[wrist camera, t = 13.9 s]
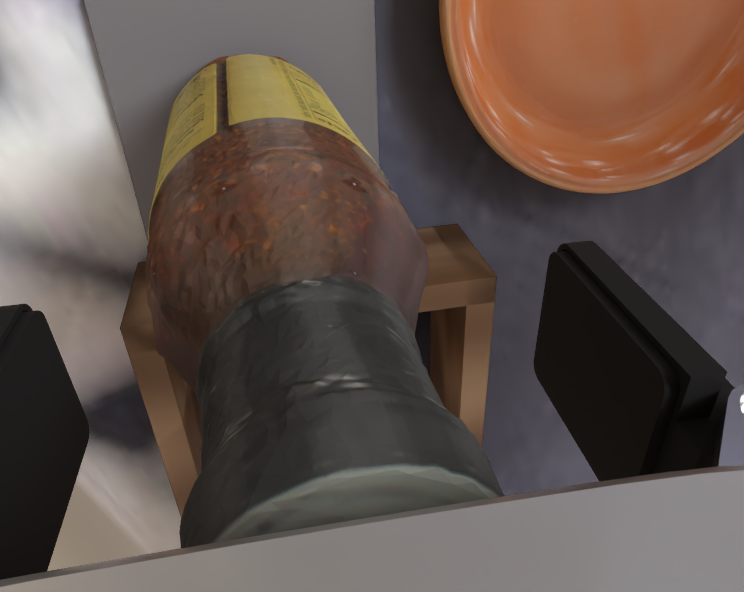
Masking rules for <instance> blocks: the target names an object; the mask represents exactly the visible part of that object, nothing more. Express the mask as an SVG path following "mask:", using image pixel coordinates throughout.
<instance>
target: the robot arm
mask: <svg viewBox="0 0 744 592" xmlns="http://www.w3.org/2000/svg"><path fill="white" fill-rule="evenodd" d="M534 369H535V373H536V376H537V378H538V380H539V382H540V384H541V385H542V387H543V388H544V390H545V392H546V393H547V395H548V397H549V398H550V400H551V402H552V403H553V405H554V407H555V408H556V410H557V412H558V413H559V415H560V417H561V418H562V420H563V422H564V423H565V425H566V427H567V428H568V430H569V432H570V433H571V435H572V437H573V438H574V440H575V442H576V443H577V445H578V447H579V448H580V450H581V451H582V453H583V455H584V456H585V458H586V460H587V461H588V463H589V465H590V466H591V468H592V470H593V471H594V473H595V475H596V476H597V478H598V480H599V481H600V482H593V483H585V484H579V485H572V486H566V487H559V488H553V489H547V490H540V491H534V492H527V493H521V494H515V495H508V496H502V497H495V498H489V499H483V500H476V501H470V502H463V503H457V504H451V505H444V506H438V507H432V508H425V509H419V510H413V511H407V512H401V513H394V514H388V515H382V516H376V517H370V518H363V519H357V520H351V521H345V522H339V523H333V524H326V525H320V526H314V527H308V528H302V529H296V530H290V531H283V532H277V533H271V534H265V535H259V536H253V537H247V538H241V539H235V540H229V541H223V542H217V543H211V544H205V545H199V546H193V547H187V548H181V549H175V550H169V551H163V552H157V553H151V554H145V555H139V556H133V557H127V558H122V559H116V560H109V561H104V562H98V563H92V564H86V565H80V566H75V567H69V568H64V569H58V570H52V571H47V569H48V566H49V563H50V560H51V557H52V554H53V551H54V547H55V544H56V541H57V538H58V535H59V532H60V528H61V525H62V522H63V519H64V516H65V513H66V510H67V506H68V503H69V500H70V497H71V494H72V491H73V488H74V484H75V481H76V478H77V475H78V472H79V469H80V465H81V462H82V459H83V456H84V453H85V450H86V447H87V443H88V439H89V425H88V421H87V418H86V416H85V413H84V411H83V408H82V406H81V404H80V401H79V399H78V396H77V394H76V391H75V389H74V386H73V384H72V382H71V379H70V377H69V374H68V372H67V369H66V367H65V364H64V362H63V360H62V357H61V355H60V352H59V350H58V347H57V345H56V342H55V340H54V338H53V335H52V333H51V330H50V328H49V325H48V323H47V320H46V318H45V316H44V314H43V313H42V312H41V311H33V310H32V308H31V307H30V306H29V305H27V304H19V305H10V306H1V307H0V592H744V384H742V385H739V386H738V387H736V388H734V387H733V386H732V385H731V384H730V383H729V382H728V381H727V380H726V379H725V376H726V373H727V371H726V370H725V369H724V368H723V367H722V366H721V365H719V364H718V363H717V362H716V361H715V360H714V359H713V358H712V357H711V356H710V355H709V354H708V353H707V352H706V351H705V350H704V349H703V348H702V347H701V346H700V345H699V344H698V343H697V342H696V341H695V340H694V339H693V338H692V337H691V336H690V335H689V334H688V333H687V332H686V331H685V330H684V329H683V328H682V327H681V326H680V325H679V324H678V323H676V322H675V321H674V320H673V319H672V318H671V317H670V316H669V315H668V314H667V313H666V312H665V311H664V310H663V309H662V308H661V307H660V306H659V305H658V304H657V303H656V302H655V301H654V300H653V299H652V298H651V297H650V296H649V295H648V294H647V293H646V292H645V291H644V290H643V289H642V288H641V287H640V286H639V285H638V284H637V283H636V282H634V281H633V280H632V279H631V278H630V277H629V276H628V275H627V274H626V273H625V272H624V271H623V270H622V269H621V268H620V267H619V266H618V265H617V264H616V263H615V262H614V261H613V260H612V259H611V258H610V257H609V256H608V255H607V254H606V253H605V252H604V251H603V250H602V249H601V248H600V247H599V246H598V245H597V244H596V243H594V242H593V241H583V242H574V243H565V244H562V245H560V246H559V248H558V250H557V252H553V253H552V254H551V255H550V257H549V262H548V269H547V276H546V282H545V289H544V296H543V303H542V309H541V316H540V323H539V330H538V336H537V343H536V350H535V356H534Z"/></svg>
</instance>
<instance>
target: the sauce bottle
mask: <svg viewBox="0 0 744 592" xmlns="http://www.w3.org/2000/svg"><path fill="white" fill-rule="evenodd" d="M147 249H148V255H147V258H146V260H147V262H146V268H145V272H146V277H147V293H146V295H147V301H148V305H149V308H150V311H151V314H152V319H153V331H154V333H153V340H154V344H155V347H156V351H157V352H158V354H159V355H161V356H163V357H164V358H165V359H166V360H167V361H168V362H169V363H170V364H171V365H172V366H173V367H174V368H175V370H176V371H177V372H178V373H179V374H180V376H181V377H182V378H183V379H184V380H185V381H186V383H187V384H188V385H189V386H190V387H191V388H192V389H193V390H194V392H195V393H196V395H197V399H198V403H199V406H200V411H201V436H202V446H201V452H202V453H201V474H200V475H199V477H198V478H197V480H196V481H195V483H194V485H193V487H192V490H191V492H190V494H189V497H188V499H187V502H186V504H185V506H184V510H183V514H182V518H181V525H180V540H181V548H187V547H193V546H199V545H205V544H211V543H217V542H223V541H229V540H235V539H241V538H247V537H253V536H259V535H265V534H271V533H277V532H283V531H290V530H296V529H302V528H308V527H314V526H320V525H326V524H333V523H339V522H345V521H351V520H357V519H363V518H370V517H376V516H382V515H388V514H394V513H401V512H407V511H413V510H419V509H425V508H432V507H438V506H444V505H451V504H457V503H463V502H470V501H476V500H483V499H489V498H495V497H502V496H504V494H503V493H502V491H501V489H500V486H499V484H498V482H497V480H496V477H495V475H494V473H493V471H492V469H491V466H490V463H489V460H488V458H487V457H486V455H485V453H484V452H483V450H482V448H481V446H480V444H479V442H478V440H477V438H476V436H475V435H474V434H473V433H471V432H470V431H469V429H468V428H467V426H466V425H465V424H464V422H463V421H462V420H461V419H460V418H458V417H456V416H454V415H453V414H452V413H451V412H450V411H448V410H447V409H446V408H445V407H444V405H443V403H442V401H441V399H440V397H439V395H438V393H437V391H436V389H435V387H434V385H433V383H432V381H431V379H430V377H429V375H428V371H427V369H426V368H425V366H424V365H423V364H422V358H421V353H420V350H419V347H418V344H417V342H416V339H415V331H416V324H417V318H418V312H419V306H420V302H421V297H422V294H423V291H424V288H425V285H426V282H427V274H428V270H429V260H428V254H427V249H426V246H425V244H424V242H423V240H422V239H421V237H420V235H419V234H418V232H417V230H416V229H415V227H414V225H413V224H412V222H411V220H410V219H409V217H408V215H407V213H406V211H405V209H404V208H403V206H402V205H401V203H400V202H399V199H398V195H397V194H396V193H394V192H392V190H391V187H390V185H389V183H388V181H387V179H386V177H385V175H384V174H383V172H382V171H381V169H380V168H379V166H378V165H377V164H376V162H375V161H374V159H373V158H372V157H371V155H370V154H369V153H368V151H367V150H366V149H365V148H364V146H363V145H362V143H361V142H360V141H359V140H358V138H357V137H356V136H355V134H354V133H353V132H352V130H351V129H350V128H349V126H348V125H347V123H346V122H345V121H344V119H343V118H342V116H341V115H340V113H339V112H338V110H337V109H336V108H335V106H334V105H333V103H332V102H331V101H330V99H329V98H328V96H327V95H326V93H325V92H324V91H323V89H322V88H321V86H320V85H319V84H318V83H317V82H316V81H314V80H313V79H312V78H311V77H310V76H309V75H307V74H306V73H305V72H303V71H302V70H300V69H299V68H297V67H295V66H294V65H292V64H290V63H289V62H287V61H286V60H284V59H282V58H281V57H278V56H274V57H272V56H266V55H261V54H236V55H233V56H223V57H219V58H217V59H215V60H213V61H211V62H210V63H208V64H207V65H205V66H204V67H203V68H202V69H200V70H199V72H198V73H197V74H196V75H195V76H194V77H193V78H192V79H191V80H190V81H189V82H188V83H187V84H186V85H185V87H184V88H183V89H182V91H181V92H180V94H179V95H178V97H177V98H176V100H175V102H174V104H173V107H172V110H171V114H170V118H169V123H168V128H167V132H166V137H165V142H164V148H163V153H162V158H161V164H160V169H159V173H158V178H157V183H156V188H155V193H154V198H153V203H152V207H151V211H150V217H149V227H148V246H147Z"/></svg>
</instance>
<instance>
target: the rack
mask: <svg viewBox="0 0 744 592" xmlns="http://www.w3.org/2000/svg"><path fill="white" fill-rule="evenodd" d="M416 230H417V232H418V234H419V235H420V237H421V239H422V240H423V242H424V244H425V246H426V249H427V254H428V260H429V270H428V274H427V282H426V285H425V288H424V291H423V294H422V297H421V302H420V306H419V312H418V313H420V312H427V311H431V327H430V375H429V377H430V379H431V381H432V383H433V385H434V387H435V389H436V391H437V393H438V395H439V397H440V399H441V401H442V403H443V405H444V407H445V408H446V409H447V410H448V411H450V412H451V413H452V414H453V415H454V416H456V417H458V418H460V419H461V420H462V421H463V422H464V424H465V425H466V426H467V428H468V429H469V431H470V432H471V433H473V434H474V435H475V436H476V438H477V440H478V442H479V444H480V446H481V448H482V437H483V426H484V415H485V403H486V392H487V381H488V370H489V359H490V347H491V336H492V325H493V314H494V303H495V292H496V280H497V276H496V275H495V273H494V272H493V271H492V269H491V268H490V267H489V265H488V264H487V263H486V261H485V260H484V259H483V257H482V256H481V255H480V253H479V252H478V251H477V249H476V248H475V247H474V245H473V244H472V243H471V241H470V240H469V239H468V237H467V236H466V235H465V233H464V232H463V231H462V229H461V228H460V227H459V225H458V224H452V225H444V226H435V227H427V228H419V229H416ZM145 268H146V262H140V263H138V265H137V269H136V272H135V276H134V279H133V283H132V287H131V290H130V294H129V297H128V301H127V305H126V308H125V312H124V315H123V319H122V323H121V326H120V330H121V333H122V336H123V339H124V342H125V345H126V348H127V351H128V354H129V357H130V361H131V364H132V367H133V370H134V373H135V376H136V379H137V382H138V385H139V388H140V391H141V395H142V398H143V401H144V404H145V407H146V410H147V413H148V416H149V419H150V422H151V425H152V429H153V432H154V435H155V438H156V441H157V444H158V447H159V450H160V453H161V456H162V459H163V463H164V466H165V469H166V472H167V475H168V478H169V481H170V484H171V487H172V490H173V493H174V497H175V500H176V503H177V506H178V509H179V512H180V515H181V518H182V514H183V510H184V506H185V504H186V502H187V499H188V497H189V494H190V492H191V490H192V487H193V485H194V483H195V481H196V480H197V478H198V477H199V475H200V474H201V453H202V452H201V446H202V436H201V411H200V406H199V403H198V399H197V395H196V393H195V392H194V390H193V389H192V388H191V387H190V386H189V385H188V384H187V383H186V381H185V380H184V379H183V378H182V377H181V376H180V374H179V373H178V372H177V371H176V370H175V368H174V367H173V366H172V365H171V364H170V363H169V362H168V361H167V360H166V359H165V358H164V357H163V356H161V355H159V354H158V352H157V351H156V347H155V344H154V340H153V333H154V331H153V319H152V314H151V311H150V308H149V305H148V301H147V295H146V293H147V277H146V272H145Z"/></svg>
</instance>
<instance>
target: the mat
mask: <svg viewBox="0 0 744 592" xmlns="http://www.w3.org/2000/svg"><path fill="white" fill-rule="evenodd" d="M84 3H85V7H86V10H87V14H88V18H89V22H90V25H91V29H92V33H93V37H94V40H95V44H96V48H97V52H98V55H99V59H100V63H101V67H102V70H103V74H104V78H105V82H106V85H107V89H108V93H109V97H110V100H111V104H112V108H113V112H114V115H115V119H116V123H117V127H118V130H119V134H120V138H121V142H122V145H123V149H124V153H125V157H126V160H127V164H128V168H129V172H130V175H131V179H132V183H133V187H134V190H135V194H136V198H137V202H138V205H139V209H140V213H141V217H142V220H143V224H144V228H145V232H146V235H147V239H148V227H149V217H150V211H151V207H152V203H153V198H154V193H155V188H156V183H157V178H158V173H159V169H160V164H161V158H162V153H163V148H164V142H165V137H166V132H167V128H168V123H169V118H170V114H171V110H172V107H173V104H174V102H175V100H176V98H177V97H178V95H179V94H180V92H181V91H182V89H183V88H184V87H185V85H186V84H187V83H188V82H189V81H190V80H191V79H192V78H193V77H194V76H195V75H196V74H197V73H198V72H199V70H200V69H202V68H203V67H204V66H205V65H207V64H208V63H210V62H211V61H213V60H215V59H217V58H219V57H223V56H233V55H236V54H261V55H266V56H272V57H274V56H278V57H281V58H282V59H284V60H286V61H287V62H289V63H290V64H292V65H294V66H295V67H297V68H299V69H300V70H302V71H303V72H305V73H306V74H307V75H309V76H310V77H311V78H312V79H313V80H314V81H316V82H317V83H318V84H319V85H320V86H321V88H322V89H323V91H324V92H325V93H326V95H327V96H328V98H329V99H330V101H331V102H332V103H333V105H334V106H335V108H336V109H337V110H338V112H339V113H340V115H341V116H342V118H343V119H344V121H345V122H346V123H347V125H348V126H349V128H350V129H351V130H352V132H353V133H354V134H355V136H356V137H357V138H358V140H359V141H360V142H361V143H362V145H363V146H364V148H365V149H366V150H367V151H368V153H369V154H370V155H371V157H372V158H373V159H374V161H375V162H376V164H377V165H378V166H379V142H378V109H377V76H376V43H375V10H374V0H84Z"/></svg>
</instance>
